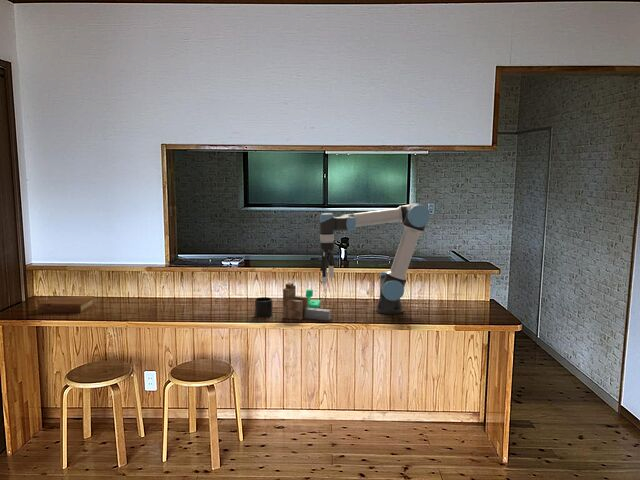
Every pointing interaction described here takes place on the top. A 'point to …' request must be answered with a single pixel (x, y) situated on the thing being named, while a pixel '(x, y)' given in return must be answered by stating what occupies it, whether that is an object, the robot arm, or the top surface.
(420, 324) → the top surface
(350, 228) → the robot arm
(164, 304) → the top surface
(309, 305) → the camera mount
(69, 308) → the diary
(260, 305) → the mug
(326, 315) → the rail
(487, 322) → the top surface
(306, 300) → the brown wooden block stack
